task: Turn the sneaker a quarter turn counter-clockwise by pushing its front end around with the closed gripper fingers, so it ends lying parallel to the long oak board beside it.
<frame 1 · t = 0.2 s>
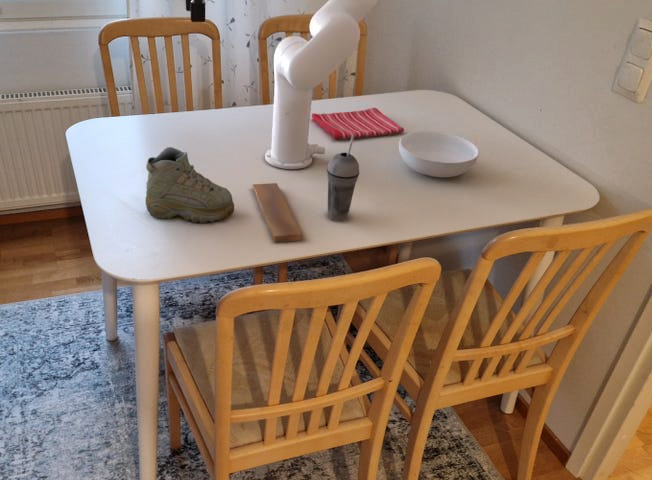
hand: (195, 16, 143), 37 cm above the table, tool pointing down, fingers open, 9 cm apart
beverage cup: (337, 217, 146), on the table
sneaker: (190, 213, 143), on the table
oak board: (275, 213, 145), on the table
dish towel: (355, 128, 192), on the table
serving bowl: (433, 169, 171), on the table
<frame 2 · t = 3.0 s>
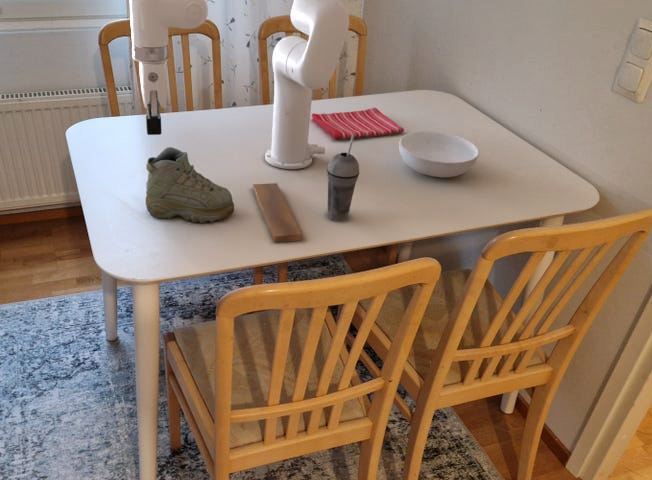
hand: (154, 133, 145), 13 cm above the table, tool pointing down, fingers closed
nothing on the table moved.
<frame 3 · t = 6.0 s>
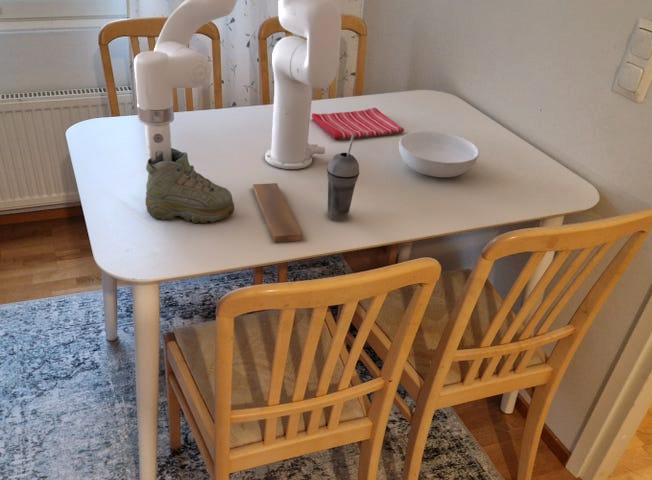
hand: (159, 189, 146), 3 cm above the table, tool pointing down, fingers closed
sneaker: (190, 213, 143), on the table, touching gripper
everything else where it was.
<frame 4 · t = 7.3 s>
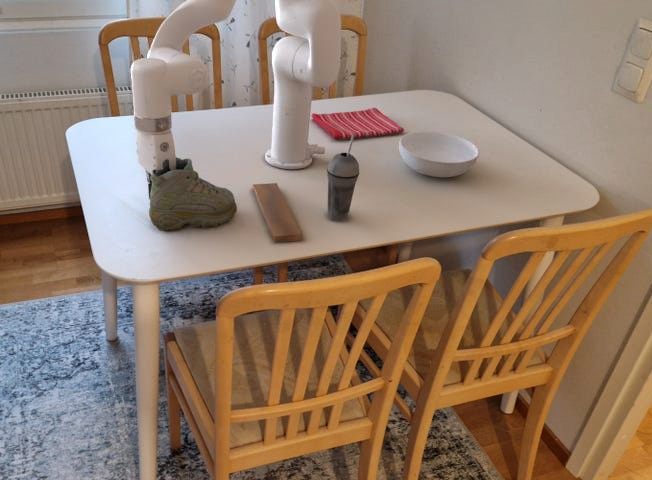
hand: (157, 199, 141), 3 cm above the table, tool pointing down, fingers closed
sneaker: (194, 219, 141), on the table, touching gripper
everything else where it was.
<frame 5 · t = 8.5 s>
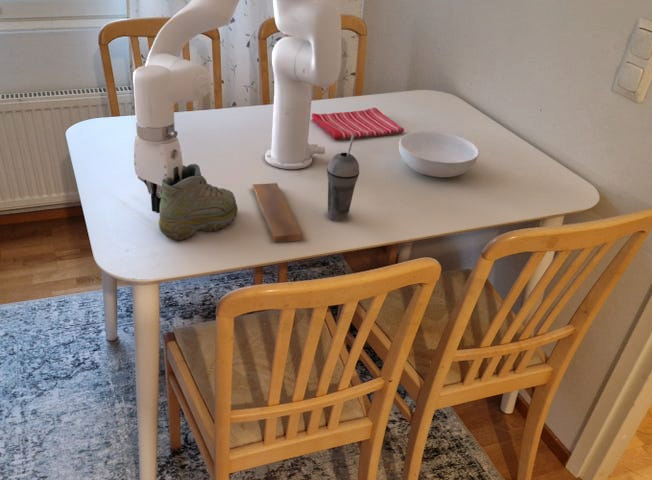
hand: (159, 209, 138), 3 cm above the table, tool pointing down, fingers closed
sneaker: (199, 224, 139), on the table, touching gripper
everything else where it was.
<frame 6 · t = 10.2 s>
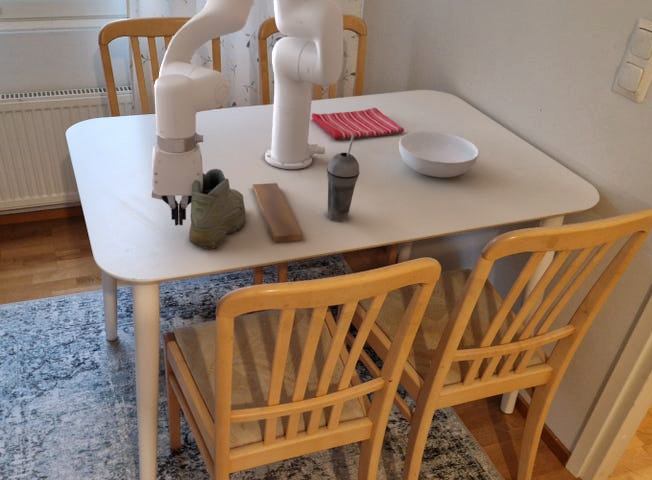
hand: (179, 222, 134), 3 cm above the table, tool pointing down, fingers closed
sneaker: (218, 229, 139), on the table, touching gripper
everything else where it was.
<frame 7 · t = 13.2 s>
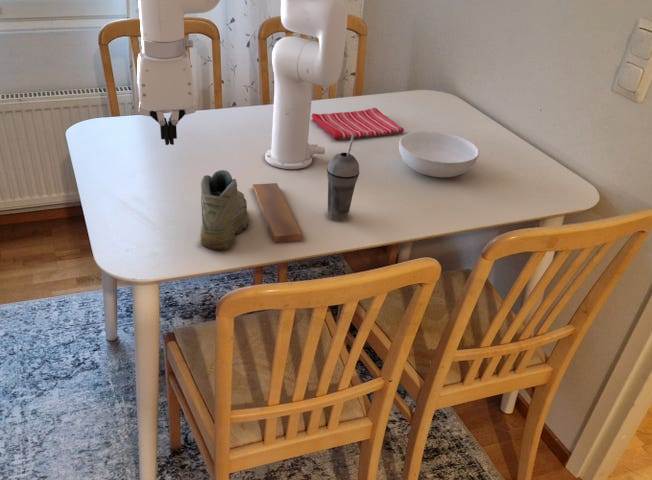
hand: (169, 141, 124), 21 cm above the table, tool pointing down, fingers closed
sneaker: (224, 230, 138), on the table
everything else where it was.
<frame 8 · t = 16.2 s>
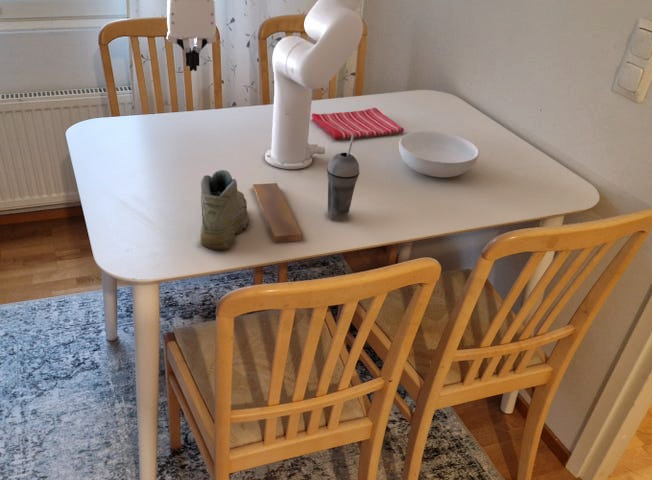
hand: (192, 68, 142), 27 cm above the table, tool pointing down, fingers closed
nothing on the table moved.
at the end: sneaker inside the target area (3.1 cm from its centre), on the table; sneaker moved 10.3 cm from its start; sneaker tilted 0° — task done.
